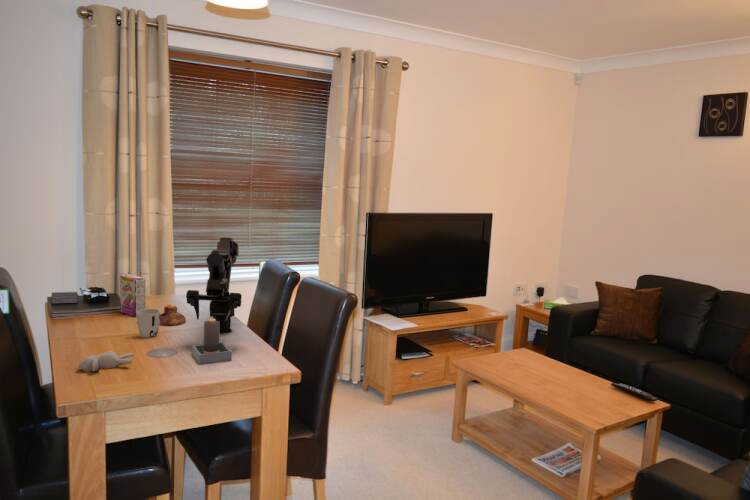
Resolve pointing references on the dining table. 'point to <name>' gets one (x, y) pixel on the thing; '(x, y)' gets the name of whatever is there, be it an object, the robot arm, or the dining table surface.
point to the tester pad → (162, 353)
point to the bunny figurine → (104, 361)
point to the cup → (148, 322)
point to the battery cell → (211, 336)
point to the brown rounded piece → (171, 317)
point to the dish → (211, 354)
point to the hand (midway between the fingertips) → (211, 319)
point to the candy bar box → (132, 294)
